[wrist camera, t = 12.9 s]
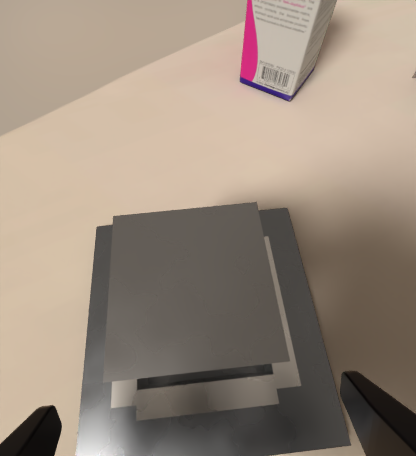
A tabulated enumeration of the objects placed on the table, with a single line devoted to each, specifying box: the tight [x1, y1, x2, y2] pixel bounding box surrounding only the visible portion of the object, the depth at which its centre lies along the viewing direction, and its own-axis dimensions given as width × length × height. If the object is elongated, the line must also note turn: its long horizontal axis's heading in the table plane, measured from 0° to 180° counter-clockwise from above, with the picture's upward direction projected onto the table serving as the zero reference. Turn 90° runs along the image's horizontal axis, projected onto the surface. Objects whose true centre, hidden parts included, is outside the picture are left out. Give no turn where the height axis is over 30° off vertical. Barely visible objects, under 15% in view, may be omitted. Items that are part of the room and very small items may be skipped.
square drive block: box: [103, 202, 290, 383], centre depth 12 cm, size 5×5×9 cm
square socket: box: [76, 208, 351, 456], centre depth 15 cm, size 14×14×3 cm
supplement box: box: [240, 0, 337, 101], centre depth 22 cm, size 6×6×12 cm
